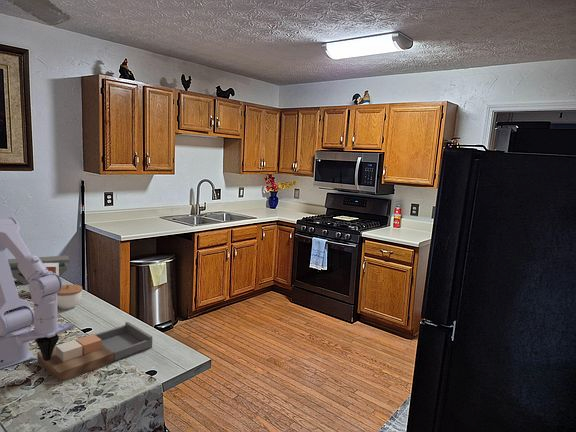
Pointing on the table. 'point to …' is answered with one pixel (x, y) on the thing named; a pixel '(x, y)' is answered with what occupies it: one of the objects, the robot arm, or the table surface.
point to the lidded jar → (69, 296)
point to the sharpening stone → (53, 259)
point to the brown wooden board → (75, 363)
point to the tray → (125, 340)
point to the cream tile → (68, 350)
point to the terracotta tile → (90, 343)
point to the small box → (52, 267)
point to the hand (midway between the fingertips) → (46, 359)
